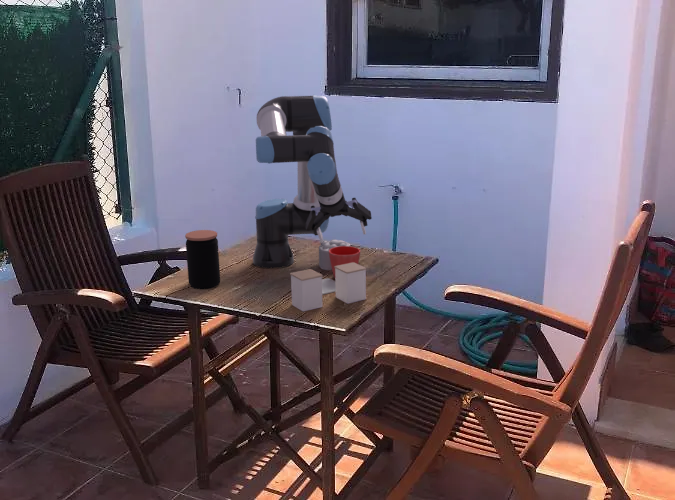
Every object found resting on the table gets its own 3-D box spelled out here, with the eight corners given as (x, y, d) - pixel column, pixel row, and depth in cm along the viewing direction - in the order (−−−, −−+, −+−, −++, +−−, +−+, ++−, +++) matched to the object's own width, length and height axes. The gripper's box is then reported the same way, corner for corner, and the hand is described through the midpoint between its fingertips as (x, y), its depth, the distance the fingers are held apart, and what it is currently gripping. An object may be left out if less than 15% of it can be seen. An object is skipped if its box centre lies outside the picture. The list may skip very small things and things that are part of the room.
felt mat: (298, 285, 246) (298, 284, 246) (328, 279, 252) (328, 278, 252) (316, 295, 236) (316, 294, 236) (347, 288, 243) (347, 287, 242)
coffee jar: (226, 281, 252) (223, 231, 246) (211, 291, 242) (207, 239, 237) (198, 278, 255) (195, 228, 250) (183, 288, 245) (178, 236, 240)
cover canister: (291, 304, 229) (290, 273, 226) (311, 300, 233) (310, 268, 230) (302, 311, 223) (301, 279, 220) (323, 306, 227) (322, 275, 224)
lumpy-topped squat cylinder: (353, 261, 271) (353, 239, 269) (338, 271, 260) (337, 248, 258) (329, 258, 276) (328, 236, 273) (312, 268, 265) (312, 245, 262)
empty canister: (334, 297, 235) (334, 266, 232) (353, 292, 239) (353, 262, 236) (347, 303, 229) (346, 272, 226) (366, 299, 233) (366, 268, 230)
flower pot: (357, 282, 249) (357, 255, 246) (326, 280, 251) (325, 254, 248) (362, 272, 258) (362, 246, 256) (332, 271, 261) (332, 245, 258)
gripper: (289, 214, 209) (304, 251, 227) (374, 197, 207) (383, 237, 225) (287, 193, 213) (303, 232, 231) (371, 177, 211) (380, 217, 229)
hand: (342, 234), depth 228 cm, fingers open, 13 cm apart
